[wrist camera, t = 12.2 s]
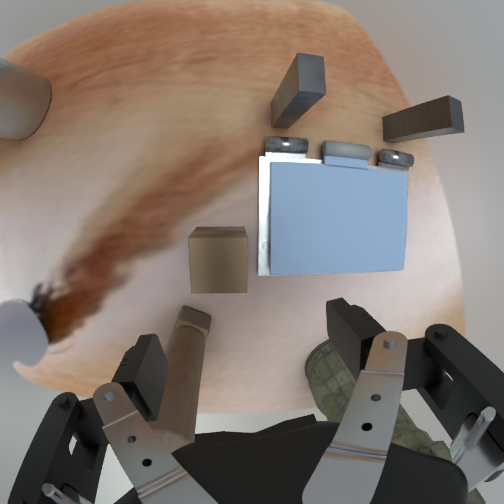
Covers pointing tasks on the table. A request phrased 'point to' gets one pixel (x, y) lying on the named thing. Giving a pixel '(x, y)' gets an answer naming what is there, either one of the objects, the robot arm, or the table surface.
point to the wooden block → (182, 380)
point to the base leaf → (294, 149)
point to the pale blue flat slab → (336, 214)
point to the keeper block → (218, 260)
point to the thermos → (339, 394)
